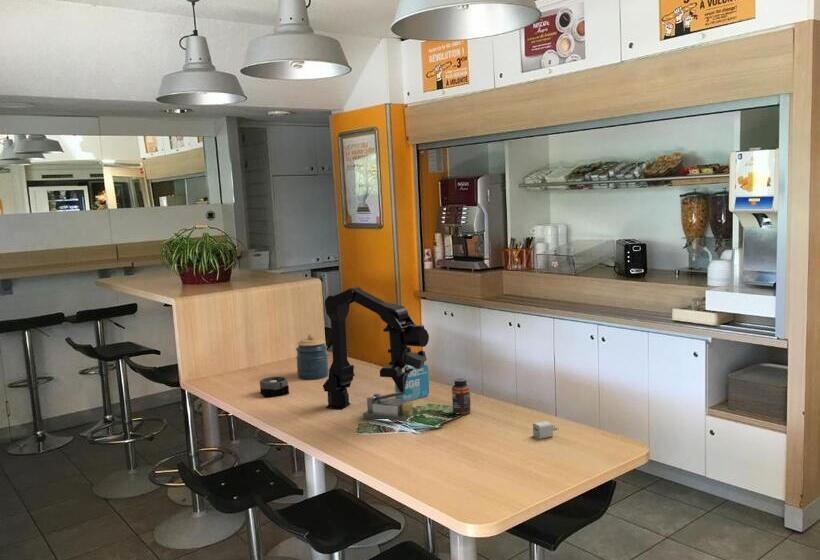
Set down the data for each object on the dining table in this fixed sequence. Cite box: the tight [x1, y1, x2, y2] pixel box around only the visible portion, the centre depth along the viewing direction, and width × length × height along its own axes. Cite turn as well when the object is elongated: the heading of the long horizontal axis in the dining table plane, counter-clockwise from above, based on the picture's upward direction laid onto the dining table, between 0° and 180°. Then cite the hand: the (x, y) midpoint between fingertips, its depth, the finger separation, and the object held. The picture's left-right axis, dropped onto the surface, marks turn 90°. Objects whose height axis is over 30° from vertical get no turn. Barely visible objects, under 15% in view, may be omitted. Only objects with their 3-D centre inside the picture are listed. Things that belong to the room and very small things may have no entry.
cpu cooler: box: [259, 376, 290, 399], centre depth 269 cm, size 10×6×10 cm
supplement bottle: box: [451, 377, 472, 416], centre depth 236 cm, size 6×6×11 cm
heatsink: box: [362, 393, 418, 421], centre depth 235 cm, size 15×10×6 cm, turn 65°
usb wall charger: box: [532, 420, 559, 440], centre depth 211 cm, size 4×7×4 cm, turn 111°
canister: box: [295, 333, 330, 380], centre depth 292 cm, size 13×13×18 cm
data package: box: [394, 363, 430, 402], centre depth 255 cm, size 12×4×12 cm, turn 125°
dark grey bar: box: [371, 391, 406, 401], centre depth 235 cm, size 13×3×2 cm, turn 65°
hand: (402, 392), depth 232 cm, fingers closed, pressing on dark grey bar
